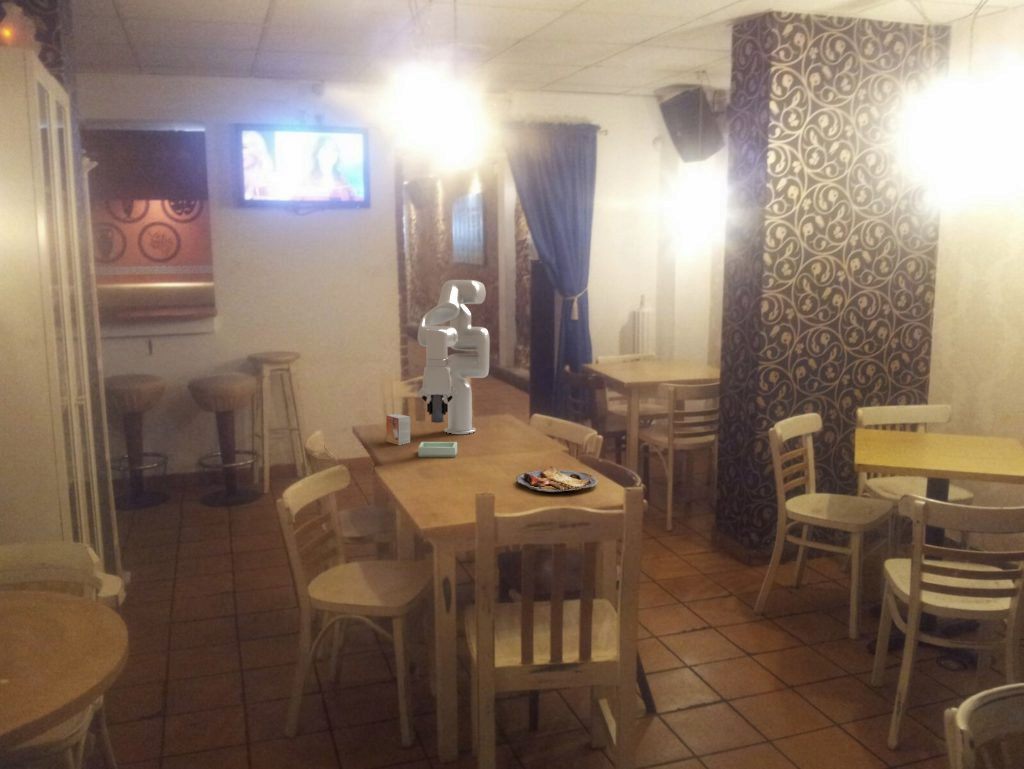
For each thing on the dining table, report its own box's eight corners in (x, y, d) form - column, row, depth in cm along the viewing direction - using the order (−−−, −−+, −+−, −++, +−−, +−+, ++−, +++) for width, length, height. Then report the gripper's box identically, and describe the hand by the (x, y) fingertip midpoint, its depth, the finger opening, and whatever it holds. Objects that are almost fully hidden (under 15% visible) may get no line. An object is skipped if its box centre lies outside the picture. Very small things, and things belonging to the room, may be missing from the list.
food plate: (502, 482, 279) (502, 471, 278) (558, 471, 293) (559, 461, 292) (553, 502, 259) (553, 490, 259) (610, 489, 273) (611, 479, 273)
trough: (421, 451, 322) (421, 441, 321) (457, 451, 321) (457, 442, 321) (418, 457, 313) (418, 447, 312) (455, 457, 313) (455, 447, 312)
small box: (386, 442, 337) (385, 415, 335) (398, 440, 341) (397, 413, 339) (398, 445, 331) (398, 418, 330) (410, 443, 335) (410, 416, 334)
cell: (432, 420, 317) (431, 390, 316) (444, 420, 317) (444, 390, 316) (430, 422, 313) (430, 392, 311) (443, 422, 313) (443, 392, 311)
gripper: (461, 362, 316) (461, 412, 318) (414, 362, 316) (415, 412, 319) (460, 364, 308) (460, 416, 311) (411, 364, 308) (412, 415, 311)
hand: (437, 413), depth 315 cm, fingers closed on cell, 4 cm apart
